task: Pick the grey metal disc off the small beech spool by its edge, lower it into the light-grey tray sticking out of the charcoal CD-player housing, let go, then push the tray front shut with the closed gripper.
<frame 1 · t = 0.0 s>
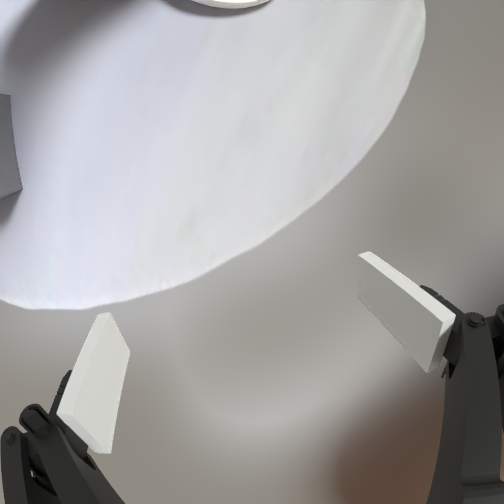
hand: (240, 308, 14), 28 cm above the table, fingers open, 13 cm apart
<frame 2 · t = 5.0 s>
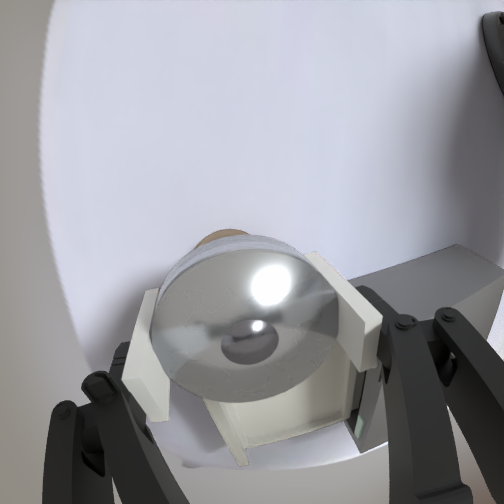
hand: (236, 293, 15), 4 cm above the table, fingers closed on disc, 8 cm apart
disc: (242, 316, 13), point 6 cm above the table, touching gripper, spool
tray: (295, 394, 21), point 2 cm above the table, slide at 11.0 cm
spool: (228, 265, 18), on the table
housing: (399, 335, 25), on the table
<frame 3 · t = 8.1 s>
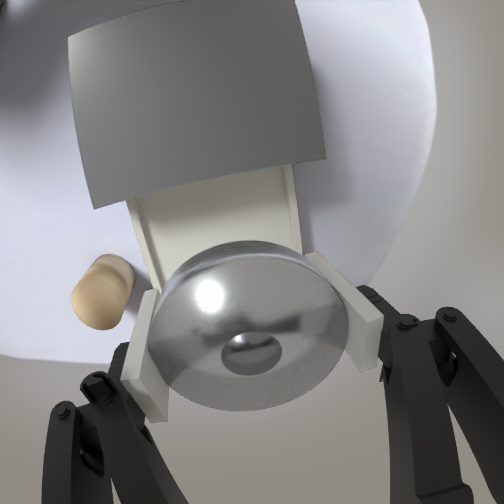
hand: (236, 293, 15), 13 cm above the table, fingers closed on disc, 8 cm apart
disc: (246, 324, 12), point 16 cm above the table, touching gripper
tray: (218, 229, 24), point 2 cm above the table, slide at 11.0 cm
spool: (112, 276, 26), on the table
housing: (192, 98, 22), on the table
when the fingers open (3 cm above the table, at t = 10.2 s): disc drops 4 cm, resting on tray.
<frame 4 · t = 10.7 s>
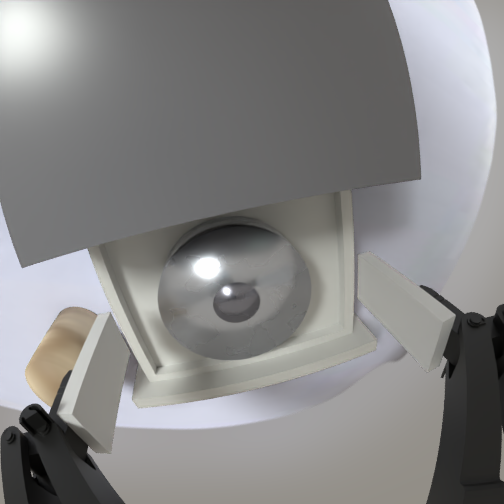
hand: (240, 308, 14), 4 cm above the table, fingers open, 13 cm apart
disc: (232, 284, 16), point 2 cm above the table, touching tray
tray: (233, 283, 15), point 2 cm above the table, slide at 11.0 cm, touching disc
spool: (83, 335, 17), on the table
housing: (190, 71, 13), on the table
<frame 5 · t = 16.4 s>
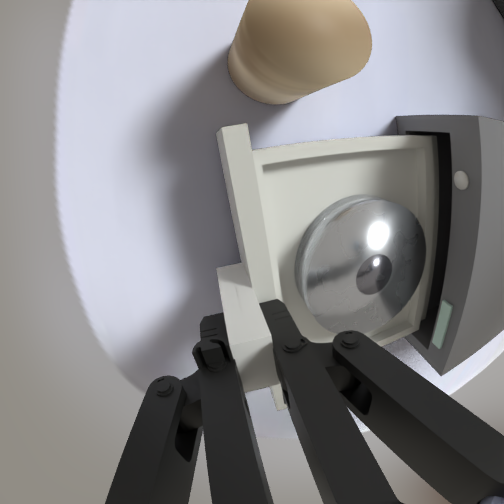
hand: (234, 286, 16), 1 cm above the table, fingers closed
disc: (356, 260, 16), point 2 cm above the table, touching tray
tray: (364, 263, 16), point 2 cm above the table, slide at 10.8 cm, touching disc, gripper
spool: (272, 64, 13), on the table
housing: (457, 219, 19), on the table
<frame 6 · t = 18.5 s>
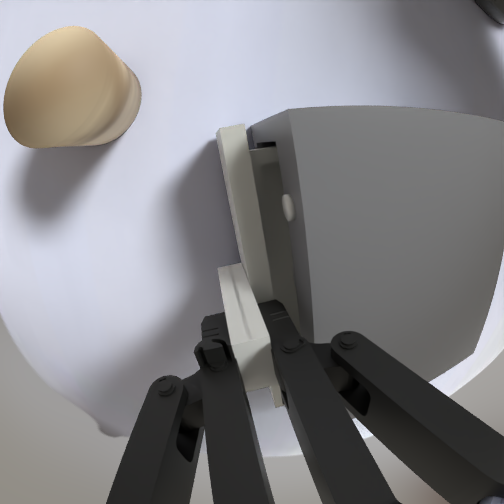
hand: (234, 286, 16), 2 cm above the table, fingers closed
tray: (362, 262, 16), point 2 cm above the table, slide at 1.0 cm, touching disc
spool: (99, 102, 12), on the table
housing: (370, 242, 18), on the table
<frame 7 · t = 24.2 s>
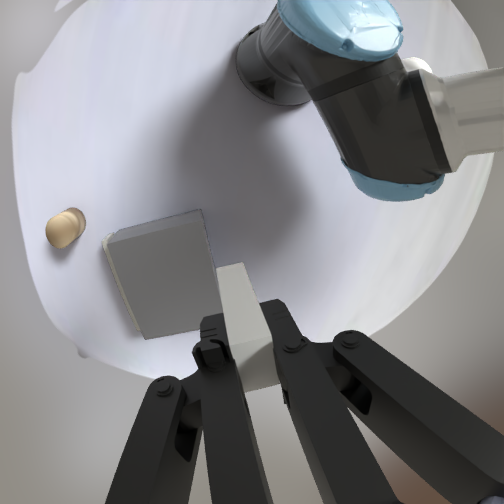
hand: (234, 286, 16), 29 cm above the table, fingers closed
tray: (159, 275, 43), point 2 cm above the table, slide at 0.9 cm, touching disc
spool: (73, 222, 39), on the table
housing: (172, 267, 46), on the table
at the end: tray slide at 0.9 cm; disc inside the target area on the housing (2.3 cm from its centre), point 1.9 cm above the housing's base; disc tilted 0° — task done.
